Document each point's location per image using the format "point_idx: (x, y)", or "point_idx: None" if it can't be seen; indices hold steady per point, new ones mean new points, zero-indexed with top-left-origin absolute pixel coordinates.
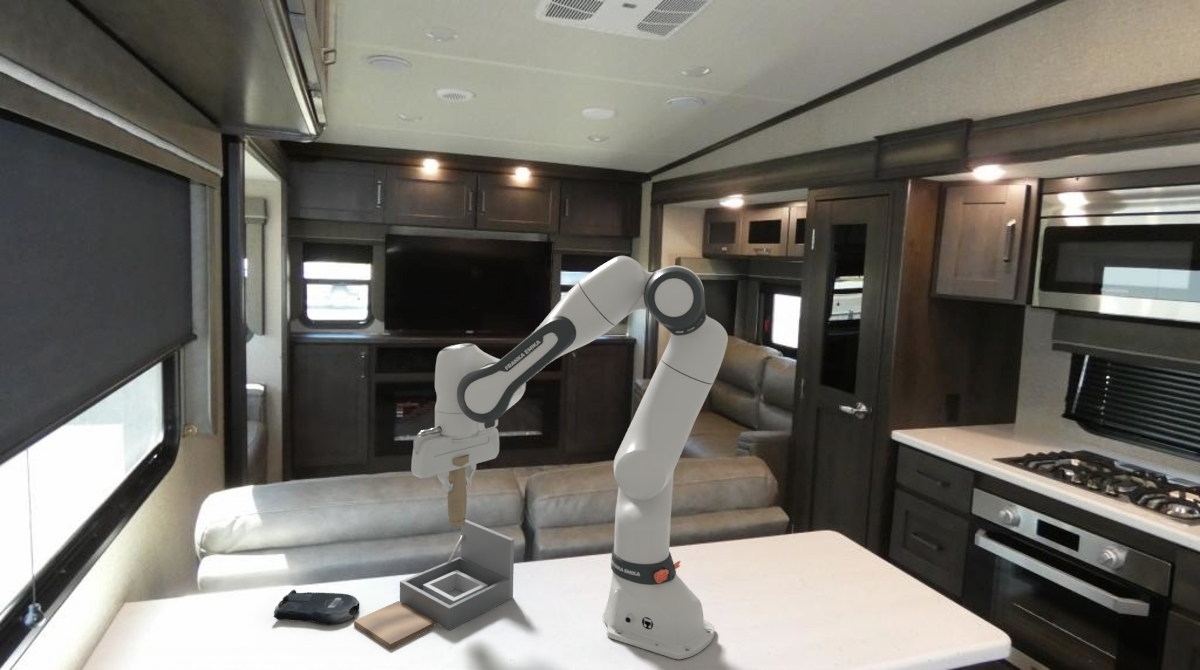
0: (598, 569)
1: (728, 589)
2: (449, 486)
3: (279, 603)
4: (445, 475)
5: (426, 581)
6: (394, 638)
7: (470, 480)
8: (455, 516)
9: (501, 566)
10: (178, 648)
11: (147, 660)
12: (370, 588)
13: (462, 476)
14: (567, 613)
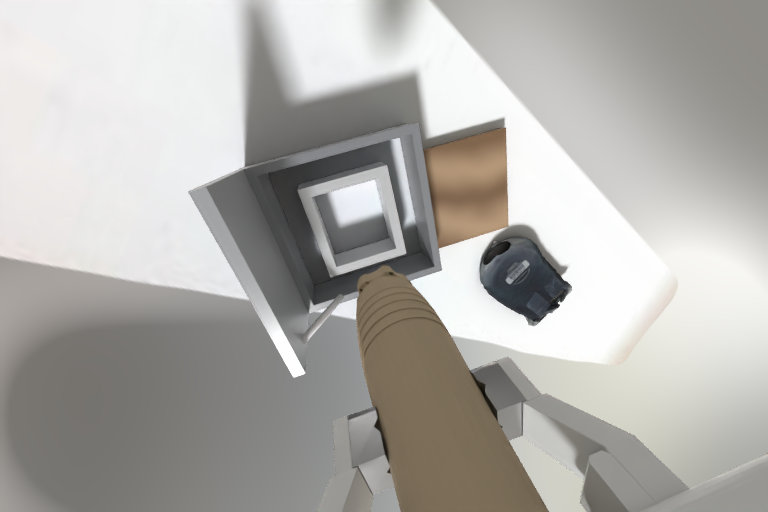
0: None
1: None
2: (515, 386)
3: (564, 297)
4: (632, 462)
5: None
6: (493, 140)
7: (344, 448)
8: (410, 284)
9: (251, 204)
10: (639, 270)
11: (663, 262)
12: (442, 308)
13: (457, 461)
14: (130, 10)
